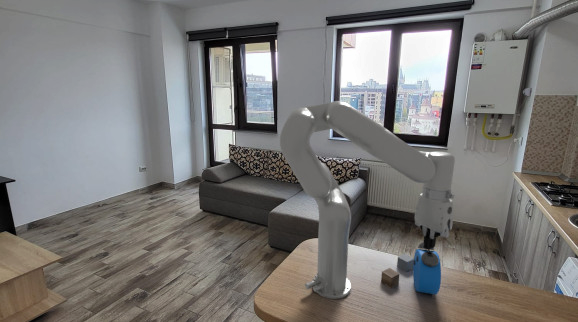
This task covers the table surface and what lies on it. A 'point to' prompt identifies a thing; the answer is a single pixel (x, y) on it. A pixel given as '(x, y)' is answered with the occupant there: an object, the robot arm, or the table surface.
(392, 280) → the walnut block
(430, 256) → the alarm clock
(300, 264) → the table surface
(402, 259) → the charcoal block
